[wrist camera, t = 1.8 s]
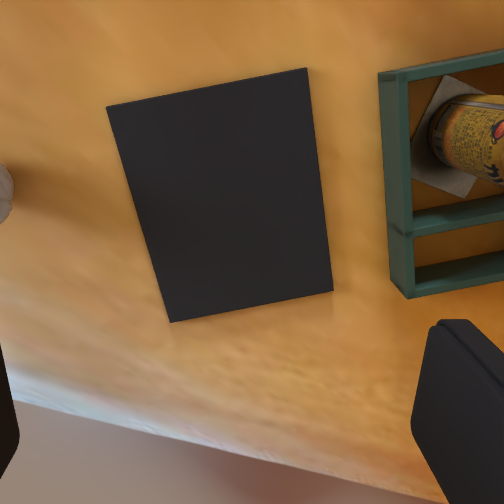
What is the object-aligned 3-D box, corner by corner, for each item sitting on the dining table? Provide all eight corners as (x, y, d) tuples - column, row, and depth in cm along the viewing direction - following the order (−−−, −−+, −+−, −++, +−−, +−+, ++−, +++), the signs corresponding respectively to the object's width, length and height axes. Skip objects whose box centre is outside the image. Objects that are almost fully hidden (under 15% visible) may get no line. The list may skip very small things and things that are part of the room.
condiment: (515, 107, 36) (646, 121, 25) (463, 198, 39) (560, 247, 28) (443, 73, 35) (548, 73, 24) (394, 171, 38) (468, 210, 27)
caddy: (377, 73, 34) (396, 72, 31) (531, 42, 34) (568, 38, 31) (390, 280, 42) (407, 299, 38) (517, 255, 42) (546, 272, 38)
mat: (107, 106, 34) (105, 106, 33) (305, 67, 34) (307, 67, 33) (170, 320, 42) (169, 323, 41) (332, 288, 42) (334, 291, 41)
